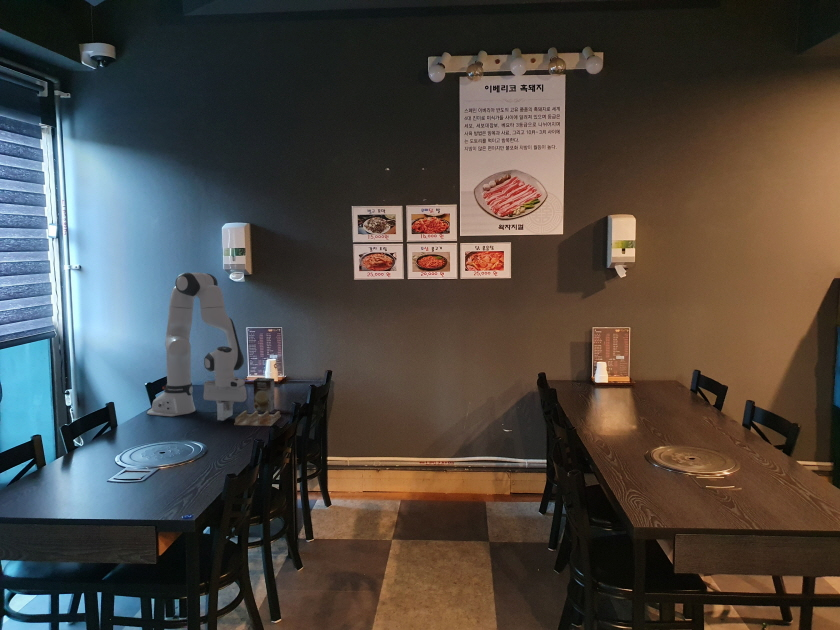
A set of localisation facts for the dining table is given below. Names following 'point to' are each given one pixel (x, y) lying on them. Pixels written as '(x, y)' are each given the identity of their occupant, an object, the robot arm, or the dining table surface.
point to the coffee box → (264, 394)
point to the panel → (223, 410)
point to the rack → (257, 419)
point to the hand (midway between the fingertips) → (225, 409)
